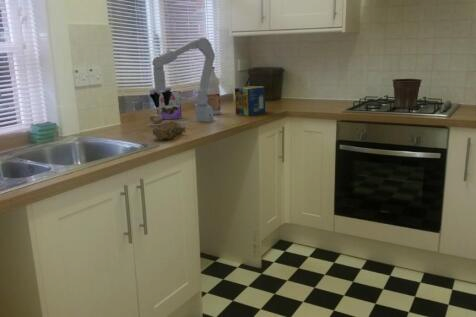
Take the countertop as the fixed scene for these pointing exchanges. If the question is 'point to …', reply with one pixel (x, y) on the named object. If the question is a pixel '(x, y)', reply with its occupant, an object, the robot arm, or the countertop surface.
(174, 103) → the candy box
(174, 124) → the brown rounded lump
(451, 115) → the countertop surface
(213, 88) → the fruit juice
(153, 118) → the oak block
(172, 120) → the terracotta pad
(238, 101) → the protein box
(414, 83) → the plant pot
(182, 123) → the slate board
